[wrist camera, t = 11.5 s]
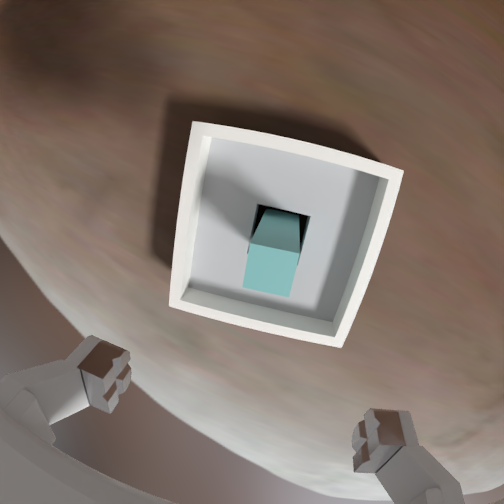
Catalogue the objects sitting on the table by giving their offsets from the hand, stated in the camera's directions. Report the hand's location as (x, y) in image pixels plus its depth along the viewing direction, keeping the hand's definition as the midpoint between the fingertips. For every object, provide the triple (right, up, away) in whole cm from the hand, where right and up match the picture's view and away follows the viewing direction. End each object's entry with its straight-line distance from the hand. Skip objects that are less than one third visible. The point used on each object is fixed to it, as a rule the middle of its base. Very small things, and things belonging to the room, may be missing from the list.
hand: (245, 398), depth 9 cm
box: (+3, +7, +19) cm, 20 cm away
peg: (+3, +7, +19) cm, 20 cm away
